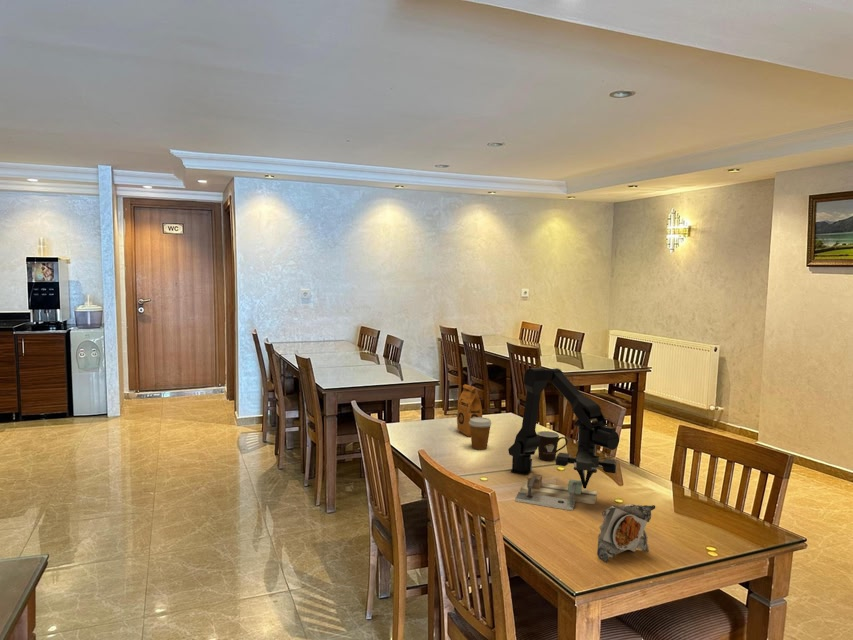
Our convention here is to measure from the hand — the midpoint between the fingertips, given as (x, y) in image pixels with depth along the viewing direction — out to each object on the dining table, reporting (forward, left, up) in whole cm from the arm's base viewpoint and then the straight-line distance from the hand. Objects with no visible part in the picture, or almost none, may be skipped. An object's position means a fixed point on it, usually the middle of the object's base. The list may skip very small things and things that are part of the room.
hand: (584, 488), depth 184 cm
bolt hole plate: (-11, -9, -3) cm, 15 cm away
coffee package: (-56, +57, -4) cm, 80 cm away
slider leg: (-3, -4, -2) cm, 5 cm away
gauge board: (-8, -3, -3) cm, 9 cm away
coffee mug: (-16, +36, -4) cm, 40 cm away
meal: (+14, -35, -4) cm, 38 cm away
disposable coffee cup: (-46, +38, -4) cm, 60 cm away
